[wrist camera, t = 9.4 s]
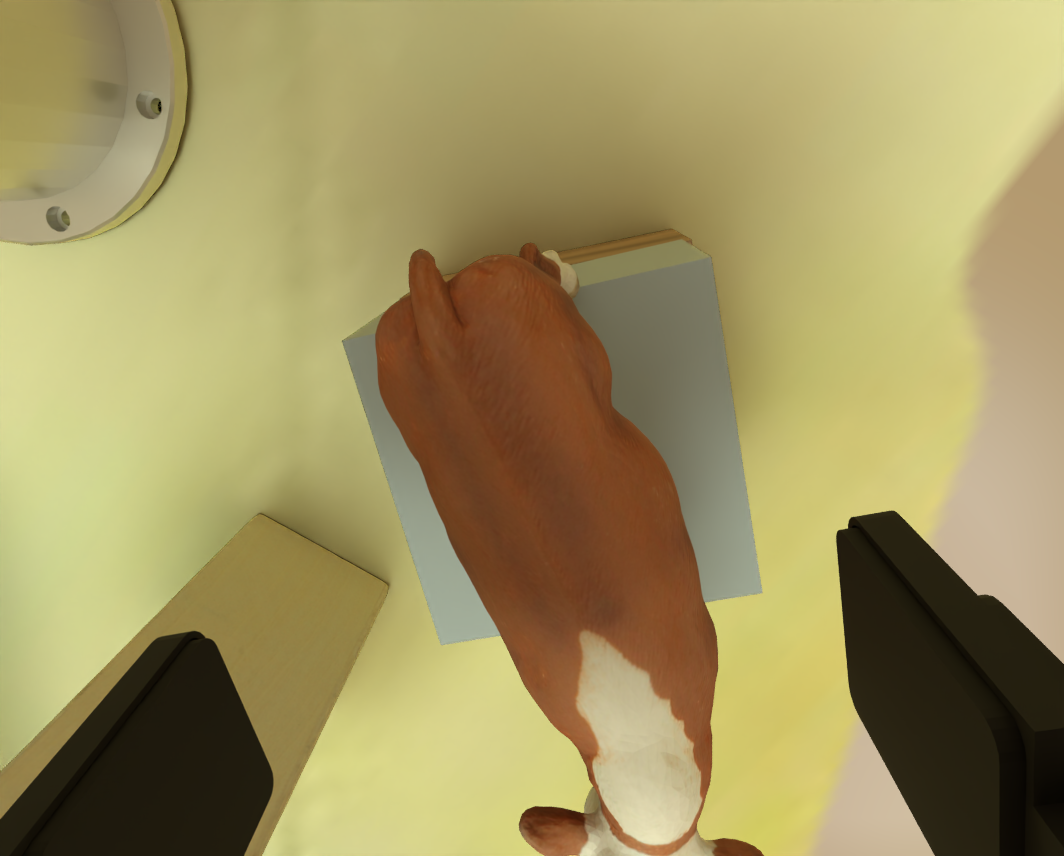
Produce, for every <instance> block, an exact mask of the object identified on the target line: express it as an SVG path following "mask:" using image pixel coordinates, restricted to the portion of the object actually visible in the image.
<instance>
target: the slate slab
mask: <svg viewBox="0 0 1064 856" xmlns="http://www.w3.org/2000/svg"><path fill="white" fill-rule="evenodd" d="M571 267H572V268H573V269H574V271H575V272H576V274H577V276H578V280H579V285H580V287H579V291H578V293H577V295H576V297H575V298H573V299H572V300H573V301H574V303H575V305H576V307H577V309H578V311H579V313H580V314H581V316H582V317H583V318H584V319H585V320H586V322H587V323H588V324H589V325H590V326H591V328H592V329H593V330H594V332H595V333H596V335H597V336H598V338H599V339H600V341H601V342H602V344H603V346H604V348H605V350H606V353H607V355H608V358H609V362H610V366H611V371H612V389H611V400H612V406H613V407H614V408H615V409H616V410H617V411H618V412H619V413H620V414H621V415H623V416H624V417H625V418H627V419H628V420H630V421H631V422H632V423H633V424H634V425H635V426H636V427H637V428H638V429H639V430H640V431H641V432H642V433H643V434H644V435H645V436H646V437H647V438H648V439H649V440H650V442H651V443H652V444H653V445H654V446H655V448H656V449H657V450H658V452H659V453H660V455H661V456H662V458H663V459H664V461H665V462H666V464H667V467H668V469H669V471H670V473H671V475H672V478H673V480H674V483H675V486H676V489H677V493H678V496H679V501H680V506H681V511H682V515H683V518H684V521H685V525H686V528H687V531H688V534H689V537H690V540H691V543H692V546H693V548H694V552H695V557H696V561H697V565H698V570H699V577H700V583H701V590H702V596H703V599H704V602H711V601H717V600H723V599H729V598H735V597H741V596H747V595H754V594H760V593H762V587H761V580H760V574H759V567H758V561H757V554H756V547H755V541H754V534H753V528H752V521H751V515H750V508H749V501H748V495H747V488H746V482H745V475H744V469H743V462H742V456H741V449H740V442H739V436H738V429H737V423H736V416H735V410H734V403H733V396H732V390H731V383H730V377H729V370H728V364H727V357H726V350H725V344H724V337H723V331H722V324H721V318H720V311H719V304H718V298H717V291H716V285H715V278H714V272H713V265H712V258H711V256H709V255H707V254H706V253H704V252H702V251H701V250H699V249H697V248H696V247H694V246H692V245H691V244H689V243H687V242H686V241H684V240H682V239H680V240H676V241H672V242H667V243H663V244H659V245H654V246H650V247H646V248H642V249H637V250H633V251H629V252H624V253H620V254H616V255H611V256H607V257H603V258H599V259H594V260H590V261H586V262H581V263H577V264H573V265H571ZM384 313H385V312H384ZM384 313H382V314H381V315H379V316H378V317H376V318H375V319H374V320H372V321H371V322H369V323H368V324H366V325H365V326H363V327H362V328H360V329H359V330H357V331H356V332H355V333H353V334H352V335H350V336H349V337H347V338H346V339H344V340H343V341H342V342H343V345H344V348H345V351H346V355H347V358H348V361H349V364H350V367H351V370H352V373H353V376H354V379H355V382H356V385H357V388H358V392H359V395H360V398H361V401H362V404H363V407H364V410H365V413H366V416H367V419H368V422H369V425H370V428H371V432H372V435H373V438H374V441H375V444H376V447H377V450H378V453H379V456H380V459H381V462H382V465H383V468H384V472H385V475H386V478H387V481H388V484H389V487H390V490H391V493H392V496H393V499H394V502H395V505H396V508H397V512H398V515H399V518H400V521H401V524H402V527H403V530H404V533H405V536H406V539H407V542H408V545H409V548H410V552H411V555H412V558H413V561H414V564H415V567H416V570H417V573H418V576H419V579H420V582H421V585H422V588H423V592H424V595H425V598H426V601H427V604H428V607H429V610H430V613H431V616H432V619H433V622H434V625H435V628H436V632H437V635H438V638H439V641H440V644H441V645H446V644H452V643H458V642H464V641H470V640H476V639H483V638H489V637H495V636H501V635H500V633H499V631H498V629H497V627H496V625H495V624H494V622H493V620H492V619H491V617H490V615H489V614H488V612H487V610H486V609H485V607H484V605H483V603H482V601H481V599H480V597H479V595H478V593H477V591H476V590H475V588H474V586H473V584H472V582H471V580H470V578H469V576H468V575H467V573H466V571H465V569H464V568H463V566H462V564H461V563H460V561H459V559H458V557H457V556H456V553H455V551H454V549H453V547H452V545H451V543H450V541H449V538H448V535H447V532H446V529H445V526H444V524H443V522H442V520H441V518H440V516H439V514H438V511H437V509H436V507H435V504H434V502H433V500H432V497H431V495H430V493H429V490H428V487H427V484H426V481H425V478H424V475H423V473H422V470H421V467H420V465H419V463H418V461H417V460H416V459H415V458H414V456H413V455H412V453H411V452H410V450H409V448H408V447H407V445H406V443H405V441H404V439H403V437H402V435H401V433H400V430H399V429H398V427H397V426H396V424H395V422H394V421H393V419H392V418H391V416H390V414H389V412H388V410H387V409H386V407H385V404H384V402H383V400H382V397H381V395H380V390H379V385H378V372H377V354H376V346H375V333H376V330H377V326H378V324H379V321H380V319H381V317H382V316H383V314H384Z"/></svg>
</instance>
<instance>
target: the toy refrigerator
mask: <svg viewBox="0 0 1064 856" xmlns="http://www.w3.org/2000/svg"><path fill="white" fill-rule="evenodd" d="M387 594H388V586H387V584H386V583H384V582H383V581H381V580H380V579H378V578H376V577H374V576H372V575H371V574H369V573H367V572H365V571H363V570H362V569H360V568H358V567H356V566H354V565H353V564H351V563H349V562H348V561H346V560H344V559H342V558H340V557H338V556H336V555H335V554H333V553H332V552H330V551H328V550H326V549H324V548H322V547H320V546H319V545H317V544H315V543H313V542H312V541H310V540H308V539H306V538H304V537H302V536H300V535H299V534H297V533H295V532H293V531H292V530H290V529H288V528H286V527H284V526H282V525H281V524H279V523H277V522H275V521H273V520H271V519H270V518H268V517H266V516H264V515H261V514H259V515H257V516H255V517H254V518H253V519H251V520H250V521H249V522H248V523H247V524H246V525H245V526H244V527H243V528H242V529H241V530H240V531H239V532H238V533H237V534H236V535H235V536H234V537H233V538H232V539H231V540H230V541H229V542H228V543H227V544H226V545H225V546H224V547H223V548H222V549H221V550H220V551H219V552H218V553H217V554H216V555H215V556H214V557H213V558H212V559H211V560H210V561H209V562H208V563H207V564H206V565H205V566H204V567H203V568H202V569H201V570H200V571H199V572H198V573H197V574H196V575H195V576H194V577H193V578H192V579H191V580H190V581H189V582H188V583H187V584H186V585H185V586H184V587H183V588H182V589H181V590H180V591H179V592H178V593H177V595H176V596H175V597H174V598H173V599H172V600H171V601H170V602H169V603H168V604H167V605H166V606H165V607H164V608H163V609H162V610H161V611H160V612H159V613H158V614H157V615H156V616H155V617H154V618H153V619H152V620H151V621H150V622H149V623H148V624H147V625H146V626H145V627H144V628H143V629H142V630H141V631H140V632H139V633H138V634H137V635H136V636H135V637H134V638H133V639H132V640H131V641H130V642H129V643H128V644H127V645H126V646H125V647H124V648H123V649H122V650H121V651H120V652H119V653H118V654H117V655H116V656H115V657H114V658H113V659H112V660H111V661H110V662H109V663H108V664H107V665H106V666H105V667H104V668H103V669H102V670H101V671H100V672H99V673H98V674H97V675H96V676H95V677H94V678H93V679H92V680H91V681H90V682H89V683H88V684H87V685H86V686H85V687H84V688H83V689H82V690H81V691H80V692H79V693H78V694H77V695H76V696H75V697H74V698H73V699H72V700H71V701H70V702H69V703H68V705H67V706H66V707H65V708H64V709H63V710H62V711H61V712H60V713H59V714H58V715H57V716H56V717H55V718H54V719H53V720H52V721H51V722H50V723H49V724H48V725H47V726H46V727H45V728H44V729H43V730H42V731H41V732H40V733H39V734H38V735H37V736H36V737H35V738H34V739H33V740H32V741H31V742H30V743H29V744H28V745H27V746H26V747H25V748H24V749H23V750H22V751H21V752H20V753H19V754H18V755H17V756H16V757H15V758H14V759H13V760H12V761H11V762H10V763H9V764H8V765H7V766H6V767H5V768H4V769H3V770H2V771H1V772H0V819H1V818H2V816H3V815H4V814H5V813H6V812H7V811H8V809H9V808H10V807H11V806H12V805H13V804H14V802H15V801H16V800H17V799H18V798H19V797H20V795H21V794H22V793H23V792H24V791H25V790H26V788H27V787H28V786H29V785H30V784H31V783H32V781H33V780H34V779H35V778H36V777H37V776H38V774H39V773H40V772H41V771H42V770H43V769H44V767H45V766H46V765H47V764H48V763H49V762H50V760H51V759H52V758H53V757H54V756H55V755H56V753H57V752H58V751H59V750H60V749H61V748H62V746H63V745H64V744H65V743H66V742H67V741H68V739H69V738H70V737H71V736H72V735H73V734H74V732H75V731H76V730H77V729H78V728H79V727H80V725H81V724H82V723H83V722H84V721H85V720H86V718H87V717H88V716H89V715H90V714H91V713H92V711H93V710H94V709H95V708H96V707H97V706H98V704H99V703H100V702H101V701H102V700H103V699H104V697H105V696H106V695H107V694H108V693H109V692H110V690H111V689H112V688H113V687H114V686H115V685H116V683H117V682H118V681H119V680H120V679H121V678H122V676H123V675H124V674H125V673H126V672H127V671H128V669H129V668H130V667H131V666H132V665H133V664H134V663H135V661H136V660H137V659H138V658H139V657H140V656H141V654H142V653H143V652H144V651H145V650H146V649H147V647H148V646H149V645H150V644H151V643H152V642H153V641H154V640H155V639H156V638H158V637H161V636H166V635H172V634H178V633H184V632H189V631H198V632H201V633H202V634H203V635H204V636H205V638H209V639H212V640H213V641H214V642H215V643H216V645H217V647H218V649H219V651H220V653H221V656H222V658H223V660H224V663H225V665H226V667H227V669H228V672H229V674H230V676H231V678H232V681H233V683H234V685H235V687H236V690H237V692H238V694H239V696H240V699H241V701H242V703H243V705H244V708H245V710H246V712H247V714H248V717H249V719H250V721H251V723H252V726H253V728H254V730H255V732H256V735H257V737H258V739H259V742H260V744H261V746H262V748H263V751H264V753H265V755H266V757H267V760H268V762H269V764H270V766H271V769H272V772H273V778H274V786H273V792H272V795H271V798H270V800H269V802H268V805H267V807H266V809H265V811H264V813H263V816H262V818H261V820H260V822H259V824H258V826H257V829H256V831H255V833H254V835H253V837H252V840H251V842H250V844H249V846H248V848H247V850H246V853H245V855H244V856H262V854H263V852H264V850H265V848H266V846H267V844H268V842H269V840H270V838H271V836H272V833H273V831H274V829H275V827H276V825H277V823H278V821H279V819H280V817H281V815H282V813H283V811H284V809H285V807H286V805H287V803H288V801H289V798H290V796H291V794H292V792H293V790H294V788H295V786H296V784H297V781H298V779H299V777H300V775H301V773H302V771H303V769H304V767H305V765H306V763H307V761H308V759H309V757H310V755H311V753H312V751H313V749H314V747H315V744H316V742H317V740H318V738H319V736H320V734H321V732H322V730H323V728H324V726H325V724H326V722H327V719H328V717H329V715H330V713H331V711H332V709H333V707H334V705H335V703H336V701H337V699H338V697H339V694H340V692H341V690H342V688H343V686H344V684H345V682H346V680H347V678H348V675H349V673H350V671H351V669H352V667H353V665H354V663H355V661H356V659H357V657H358V655H359V653H360V651H361V649H362V647H363V644H364V642H365V640H366V638H367V636H368V634H369V632H370V630H371V628H372V626H373V624H374V621H375V619H376V617H377V615H378V613H379V611H380V609H381V607H382V605H383V603H384V601H385V598H386V596H387Z"/></svg>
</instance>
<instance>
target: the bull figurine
mask: <svg viewBox="0 0 1064 856" xmlns="http://www.w3.org/2000/svg"><path fill="white" fill-rule="evenodd" d="M409 287H410V295H408V296H407V297H405V298H403V299H401V300H399V301H398V302H396V303H395V304H393V305H392V306H391V307H390V308H389V309H388V310H387V311H385V313H384V314H383V316H382V317H381V319H380V321H379V324H378V326H377V330H376V333H375V346H376V354H377V372H378V385H379V390H380V395H381V397H382V400H383V402H384V404H385V407H386V409H387V410H388V412H389V414H390V416H391V418H392V419H393V421H394V422H395V424H396V426H397V427H398V429H399V430H400V433H401V435H402V437H403V439H404V441H405V443H406V445H407V447H408V448H409V450H410V452H411V453H412V455H413V456H414V458H415V459H416V460H417V461H418V463H419V465H420V467H421V470H422V473H423V475H424V478H425V481H426V484H427V487H428V490H429V493H430V495H431V497H432V500H433V502H434V504H435V507H436V509H437V511H438V514H439V516H440V518H441V520H442V522H443V524H444V526H445V529H446V532H447V535H448V538H449V541H450V543H451V545H452V547H453V549H454V551H455V553H456V556H457V557H458V559H459V561H460V563H461V564H462V566H463V568H464V569H465V571H466V573H467V575H468V576H469V578H470V580H471V582H472V584H473V586H474V588H475V590H476V591H477V593H478V595H479V597H480V599H481V601H482V603H483V605H484V607H485V609H486V610H487V612H488V614H489V615H490V617H491V619H492V620H493V622H494V624H495V625H496V627H497V629H498V631H499V633H500V635H501V637H502V639H503V641H504V643H505V645H506V647H507V649H508V651H509V653H510V655H511V658H512V660H513V662H514V664H515V666H516V668H517V670H518V672H519V675H520V677H521V679H522V682H523V684H524V685H525V687H526V689H527V690H528V692H529V693H530V695H531V696H532V698H533V699H534V700H535V702H536V703H537V704H538V706H539V707H540V708H541V710H542V711H543V712H544V714H545V715H546V717H547V718H548V719H549V721H550V722H551V723H552V724H553V725H554V726H555V727H556V728H557V729H558V730H559V731H560V732H561V733H562V734H564V735H565V736H566V737H568V738H569V739H570V740H571V741H572V742H573V743H574V745H575V746H576V747H577V748H578V750H579V752H580V754H581V756H582V759H583V761H584V763H585V765H586V767H587V771H588V776H589V780H590V782H591V783H592V785H593V787H592V788H591V790H590V792H589V794H588V796H587V799H586V802H585V806H584V813H580V812H576V811H572V810H568V809H564V808H558V807H539V806H535V807H532V808H529V809H527V810H526V811H525V812H524V813H523V814H522V816H521V819H520V822H519V830H520V832H521V834H522V836H523V838H524V839H525V840H526V842H527V843H528V844H529V845H531V846H532V847H533V848H534V849H535V850H537V851H538V852H539V853H541V854H543V855H545V856H569V855H577V856H764V855H763V854H762V852H761V851H760V850H758V849H757V848H756V847H755V846H753V845H750V844H748V843H746V842H742V841H739V840H735V839H726V838H722V839H717V840H704V839H702V838H701V837H700V835H699V833H698V831H697V822H698V819H699V817H700V815H701V812H702V809H703V806H704V802H705V798H706V794H707V791H708V788H709V785H710V779H711V769H712V732H711V725H710V720H711V714H712V707H713V699H714V690H715V682H716V677H717V672H718V648H717V636H716V632H715V627H714V623H713V621H712V619H711V617H710V614H709V612H708V610H707V607H706V605H705V602H704V599H703V596H702V590H701V583H700V577H699V570H698V565H697V561H696V557H695V552H694V548H693V546H692V543H691V540H690V537H689V534H688V531H687V528H686V525H685V521H684V518H683V515H682V511H681V506H680V501H679V496H678V493H677V489H676V486H675V483H674V480H673V478H672V475H671V473H670V471H669V469H668V467H667V464H666V462H665V461H664V459H663V458H662V456H661V455H660V453H659V452H658V450H657V449H656V448H655V446H654V445H653V444H652V443H651V442H650V440H649V439H648V438H647V437H646V436H645V435H644V434H643V433H642V432H641V431H640V430H639V429H638V428H637V427H636V426H635V425H634V424H633V423H632V422H631V421H630V420H628V419H627V418H625V417H624V416H623V415H621V414H620V413H619V412H618V411H617V410H616V409H615V408H614V407H613V406H612V400H611V389H612V371H611V366H610V362H609V358H608V355H607V353H606V350H605V348H604V346H603V344H602V342H601V341H600V339H599V338H598V336H597V335H596V333H595V332H594V330H593V329H592V328H591V326H590V325H589V324H588V323H587V322H586V320H585V319H584V318H583V317H582V316H581V314H580V313H579V311H578V309H577V307H576V305H575V303H574V301H573V300H572V299H573V298H575V297H576V295H577V293H578V291H579V287H580V285H579V280H578V276H577V274H576V272H575V271H574V269H573V268H572V267H571V265H569V264H568V263H562V262H561V260H560V258H559V256H558V254H557V252H556V251H554V250H548V251H545V252H543V253H540V252H539V250H538V248H537V246H536V245H535V244H533V243H527V244H525V245H524V246H523V247H522V248H521V251H520V257H517V256H514V255H490V256H487V257H484V258H482V259H479V260H477V261H476V262H474V263H472V264H471V265H469V266H468V267H466V268H464V269H463V270H461V271H460V272H459V273H458V274H456V275H455V276H454V277H453V278H452V279H451V280H449V281H447V282H446V281H445V280H444V279H443V277H442V275H441V273H440V271H439V270H438V268H437V267H436V264H435V259H434V257H433V256H432V255H431V254H430V253H429V252H428V251H425V250H423V249H419V250H417V251H415V252H414V253H413V254H412V256H411V259H410V262H409Z"/></svg>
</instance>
